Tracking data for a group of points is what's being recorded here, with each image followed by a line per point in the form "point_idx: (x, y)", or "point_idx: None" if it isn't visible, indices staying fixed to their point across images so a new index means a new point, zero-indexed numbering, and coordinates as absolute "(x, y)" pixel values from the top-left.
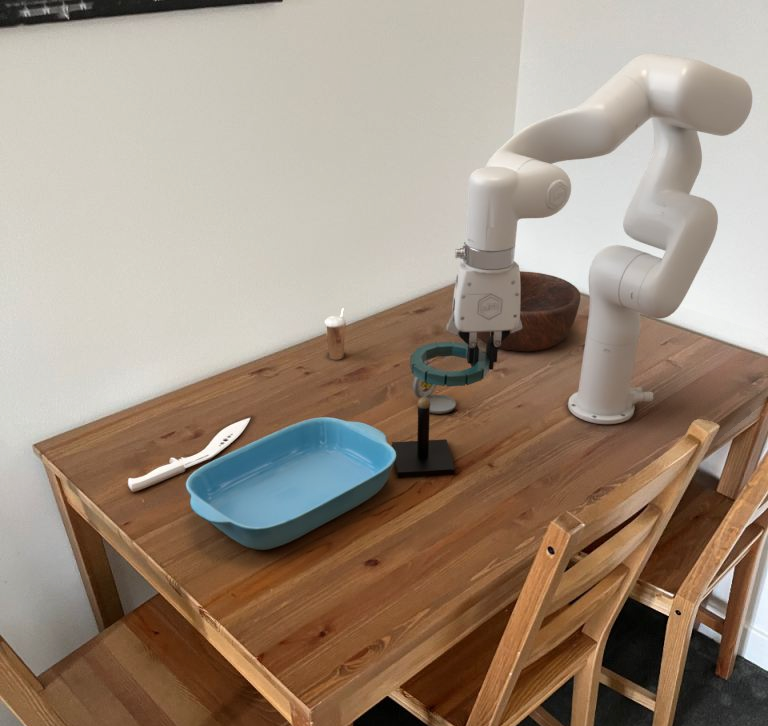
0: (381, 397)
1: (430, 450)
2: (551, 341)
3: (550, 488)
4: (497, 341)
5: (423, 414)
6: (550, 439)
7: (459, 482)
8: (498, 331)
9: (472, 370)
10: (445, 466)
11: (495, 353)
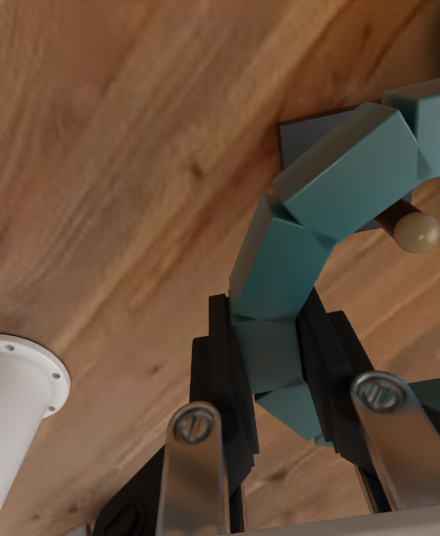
0: (395, 369)
1: None
2: None
3: (51, 87)
4: (193, 439)
5: (406, 205)
6: (84, 279)
7: (266, 90)
8: (187, 532)
9: (352, 188)
10: (301, 135)
11: (202, 371)
